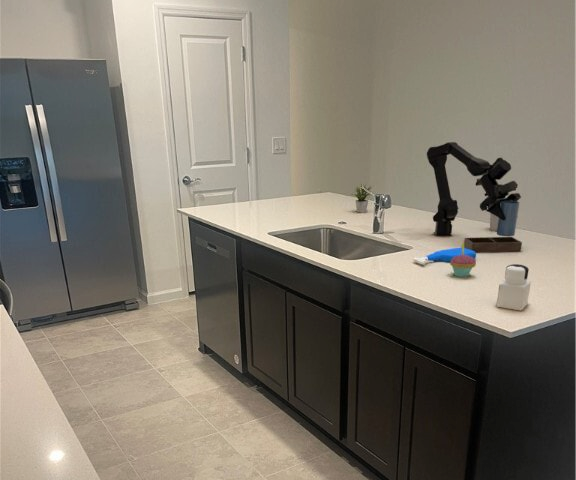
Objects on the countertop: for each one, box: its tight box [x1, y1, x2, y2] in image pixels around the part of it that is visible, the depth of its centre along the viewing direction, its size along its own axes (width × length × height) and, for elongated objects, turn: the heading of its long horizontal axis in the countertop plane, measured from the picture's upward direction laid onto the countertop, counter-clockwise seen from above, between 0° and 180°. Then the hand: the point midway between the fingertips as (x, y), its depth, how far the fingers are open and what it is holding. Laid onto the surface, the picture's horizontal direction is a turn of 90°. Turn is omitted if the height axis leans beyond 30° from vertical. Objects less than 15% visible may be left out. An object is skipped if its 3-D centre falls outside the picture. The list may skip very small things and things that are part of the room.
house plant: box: [351, 181, 373, 214], centre depth 305 cm, size 14×14×16 cm
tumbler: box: [496, 201, 520, 237], centre depth 219 cm, size 7×7×13 cm
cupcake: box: [449, 239, 477, 278], centre depth 188 cm, size 9×8×12 cm
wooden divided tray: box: [463, 236, 523, 254], centre depth 223 cm, size 20×10×4 cm, turn 91°
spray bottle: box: [413, 247, 477, 266], centre depth 208 cm, size 3×11×24 cm
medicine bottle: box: [496, 263, 532, 311], centre depth 159 cm, size 7×7×12 cm
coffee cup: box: [489, 195, 508, 232], centre depth 255 cm, size 10×10×15 cm
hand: (510, 218), depth 218 cm, fingers closed on tumbler, 7 cm apart
